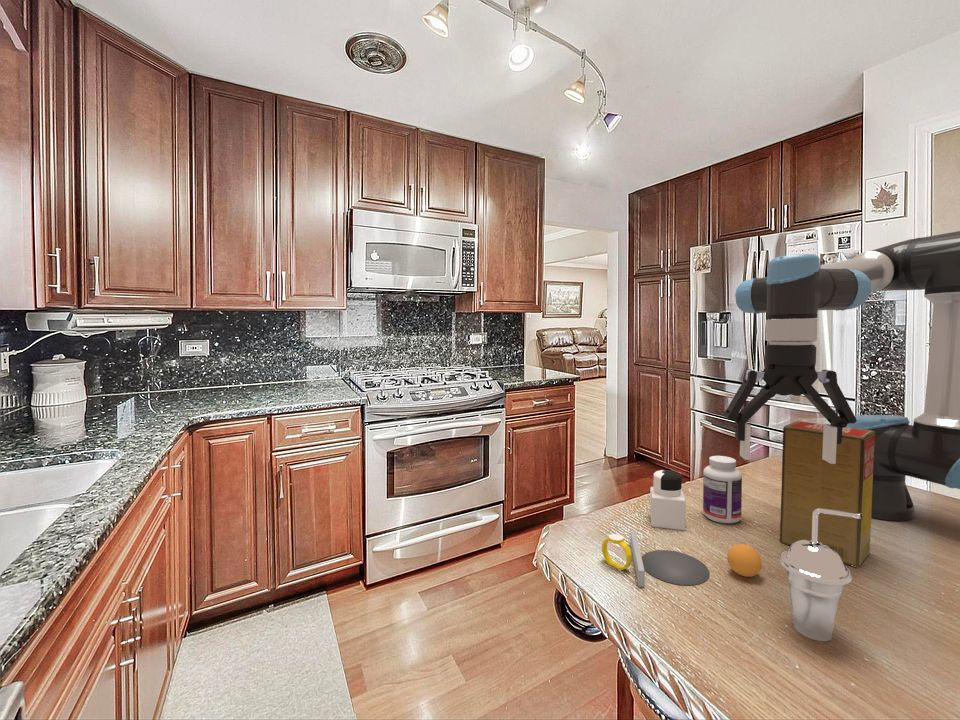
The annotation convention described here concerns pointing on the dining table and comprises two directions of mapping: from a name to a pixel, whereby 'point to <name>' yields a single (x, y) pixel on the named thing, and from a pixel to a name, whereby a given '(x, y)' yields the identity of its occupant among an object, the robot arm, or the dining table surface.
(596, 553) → the dining table surface
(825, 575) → the cup with straw
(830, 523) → the food packaging
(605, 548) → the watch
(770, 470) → the dining table surface
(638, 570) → the wall
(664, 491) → the medicine bottle
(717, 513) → the pill bottle
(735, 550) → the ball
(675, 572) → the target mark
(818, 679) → the dining table surface
